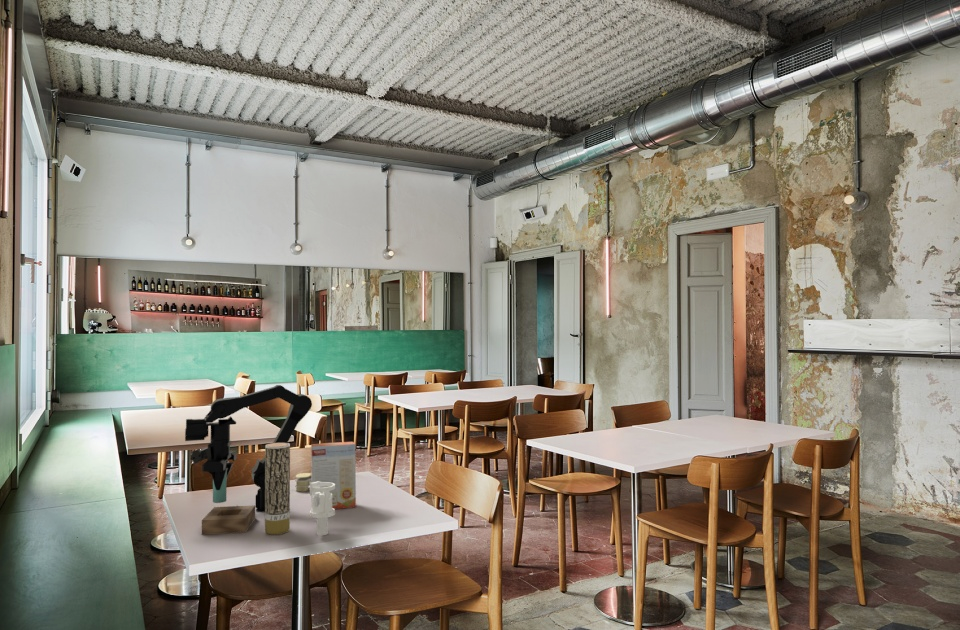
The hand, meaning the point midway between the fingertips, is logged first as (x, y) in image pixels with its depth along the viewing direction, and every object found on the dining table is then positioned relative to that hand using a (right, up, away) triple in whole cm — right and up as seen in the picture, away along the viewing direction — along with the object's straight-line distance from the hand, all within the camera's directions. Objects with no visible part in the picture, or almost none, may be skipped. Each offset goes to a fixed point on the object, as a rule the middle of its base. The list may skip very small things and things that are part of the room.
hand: (219, 488), depth 205 cm
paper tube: (+24, -8, -19) cm, 32 cm away
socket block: (+8, -8, -13) cm, 17 cm away
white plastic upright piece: (+38, -8, -21) cm, 44 cm away
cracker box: (+34, -8, +7) cm, 36 cm away
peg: (0, -4, 0) cm, 4 cm away
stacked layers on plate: (+18, -9, +32) cm, 38 cm away
